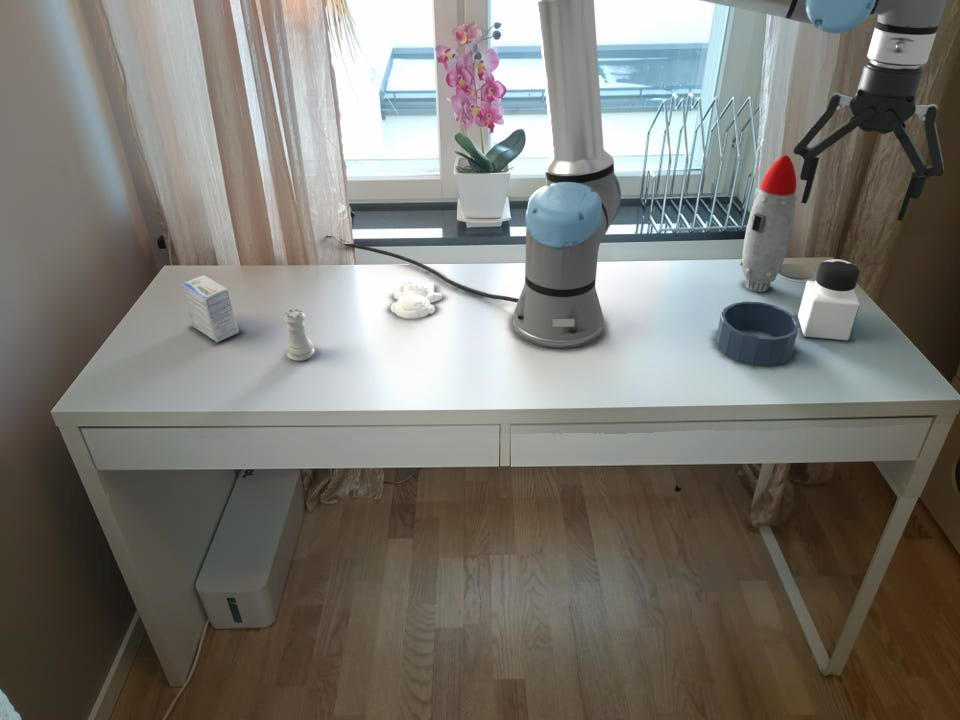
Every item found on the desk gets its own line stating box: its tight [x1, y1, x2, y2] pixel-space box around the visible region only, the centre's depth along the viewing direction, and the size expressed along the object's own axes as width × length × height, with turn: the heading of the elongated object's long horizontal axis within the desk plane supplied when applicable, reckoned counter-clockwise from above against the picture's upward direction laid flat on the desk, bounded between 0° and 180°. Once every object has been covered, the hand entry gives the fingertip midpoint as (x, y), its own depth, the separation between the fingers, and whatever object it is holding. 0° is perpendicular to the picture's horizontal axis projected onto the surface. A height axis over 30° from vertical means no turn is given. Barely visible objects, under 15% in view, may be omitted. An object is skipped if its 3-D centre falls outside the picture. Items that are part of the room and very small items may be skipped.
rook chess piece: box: [283, 307, 315, 362], centre depth 118 cm, size 4×4×8 cm
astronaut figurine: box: [390, 280, 443, 319], centre depth 134 cm, size 9×12×3 cm
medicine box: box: [181, 275, 239, 343], centre depth 125 cm, size 8×4×9 cm, turn 47°
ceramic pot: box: [715, 301, 800, 367], centre depth 120 cm, size 12×12×5 cm
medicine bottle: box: [797, 258, 861, 342], centre depth 122 cm, size 7×7×12 cm
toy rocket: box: [739, 154, 798, 293], centre depth 131 cm, size 8×8×25 cm
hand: (851, 208), depth 114 cm, fingers open, 13 cm apart
